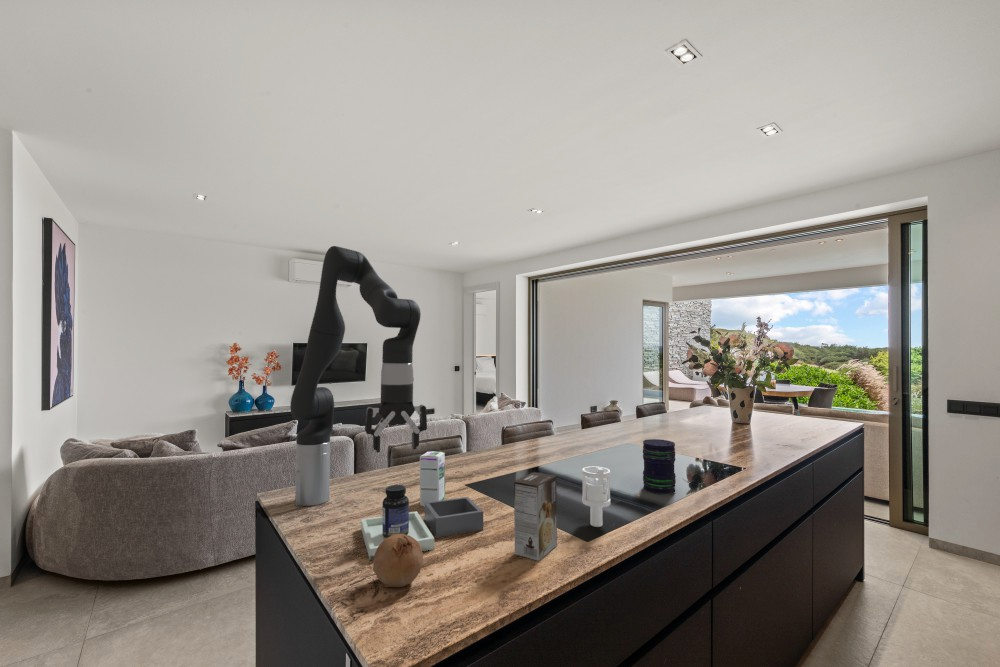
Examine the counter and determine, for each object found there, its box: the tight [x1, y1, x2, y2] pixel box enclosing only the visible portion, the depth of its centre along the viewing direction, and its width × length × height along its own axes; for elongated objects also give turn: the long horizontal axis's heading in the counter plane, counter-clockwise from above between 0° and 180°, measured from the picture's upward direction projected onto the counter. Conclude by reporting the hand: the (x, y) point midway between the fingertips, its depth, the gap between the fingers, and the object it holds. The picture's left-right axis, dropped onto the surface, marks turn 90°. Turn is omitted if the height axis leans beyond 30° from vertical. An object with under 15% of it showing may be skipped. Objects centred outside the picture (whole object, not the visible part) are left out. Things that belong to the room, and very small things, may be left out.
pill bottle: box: [382, 484, 410, 538], centre depth 107 cm, size 6×6×11 cm
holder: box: [423, 496, 484, 538], centre depth 116 cm, size 12×12×4 cm
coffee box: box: [513, 472, 558, 562], centre depth 102 cm, size 9×6×16 cm
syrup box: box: [419, 450, 446, 507], centre depth 131 cm, size 6×6×14 cm
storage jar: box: [642, 438, 677, 495], centre depth 144 cm, size 10×10×15 cm
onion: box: [372, 534, 424, 588], centre depth 88 cm, size 10×9×10 cm
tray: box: [360, 511, 435, 562], centre depth 107 cm, size 14×18×2 cm
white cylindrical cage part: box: [581, 465, 611, 528], centre depth 116 cm, size 7×7×15 cm
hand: (396, 450), depth 108 cm, fingers open, 8 cm apart
